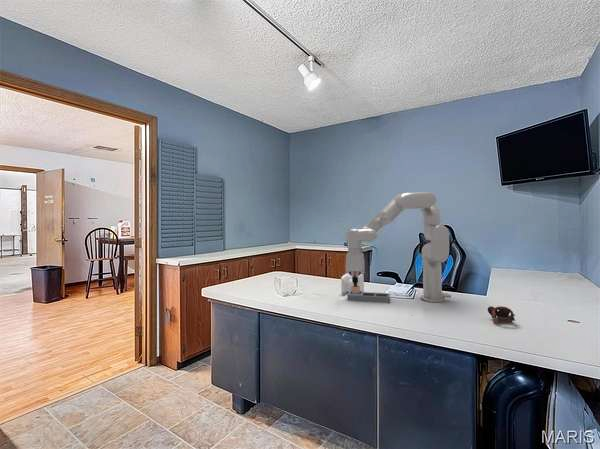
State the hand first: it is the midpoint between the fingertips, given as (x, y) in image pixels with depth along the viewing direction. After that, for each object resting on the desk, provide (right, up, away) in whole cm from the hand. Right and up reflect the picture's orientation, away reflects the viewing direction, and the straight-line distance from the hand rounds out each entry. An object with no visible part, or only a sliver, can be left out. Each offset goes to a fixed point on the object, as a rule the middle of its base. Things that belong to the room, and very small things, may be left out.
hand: (355, 283), depth 174 cm
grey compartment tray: (+7, -10, -2) cm, 12 cm away
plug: (0, -9, 0) cm, 9 cm away
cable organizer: (+2, -10, +19) cm, 21 cm away
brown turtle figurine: (+57, -10, -37) cm, 69 cm away
